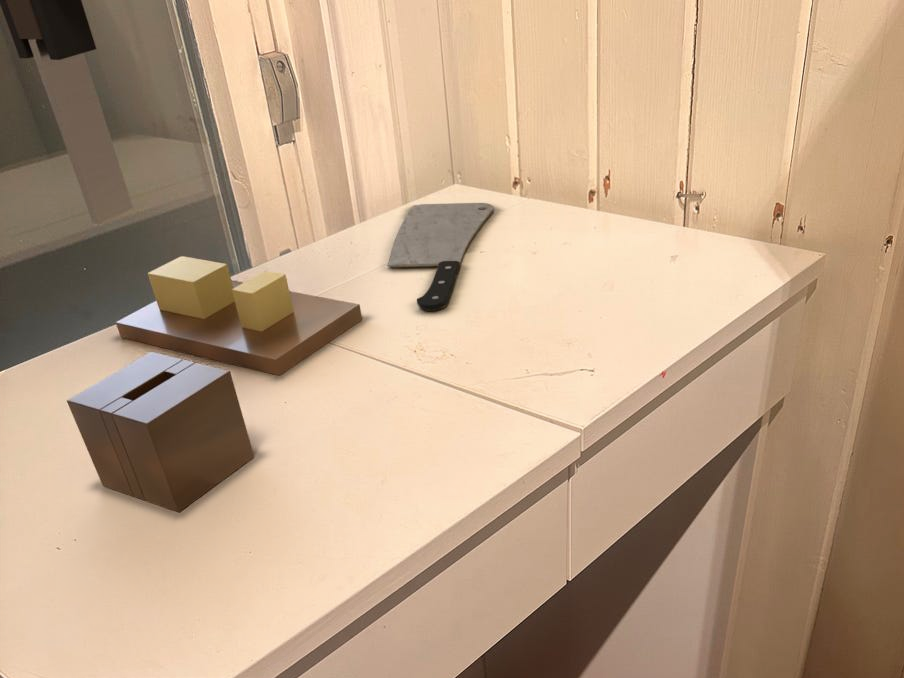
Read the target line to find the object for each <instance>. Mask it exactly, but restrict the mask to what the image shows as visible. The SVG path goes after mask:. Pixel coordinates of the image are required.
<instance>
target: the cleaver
mask: <svg viewBox="0 0 904 678" xmlns="http://www.w3.org/2000/svg"><path fill="white" fill-rule="evenodd" d="M494 210H495V207H494V205H492V204H491V203H488V202H455V203H454V202H453V203H420V204H413V205H412V206H411V208H410V210H408V213H407V214H406V216H405V217H404V218H403V221H402V223H401V225H400V226H399V229H398V231H397V233H396V235H395V239H394V241H393V244H392V248H391V251H390V254H389V258H388V261H387V265H386V266H387V267H393V268H401V267H403V268H404V267H407V268H408V267H437V268H436V271H435V274H434V277H433V280H432V282H431V284H430V286H429V288H428V290H427V291H426V292H425V293H424V295H422V296H420V297H418V298H417V299H416V304H417V305H418V306H419V308H421V309H422V310H424V311H437V310H439V309H442V308H444V307H446V305H447V304H448V302H449V300H450V297H451V294H452V292H453V288H454V285H455V282H456V279H457V276H458V273H459V270H460V268H461V262H462V260H463V258H464V255H465V252H466V250H467V249H468V247H469V245H470V243H471V241H472V240H473V238H474V237H475V236H476V234H477V232H478V230H480V228H481V227H482V225H483V224H484V223H485V222H486V220H487V219H488V218H489V216H490V215H491V214H492V213H493V212H494Z"/></svg>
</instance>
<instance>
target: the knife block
mask: <svg viewBox="0 0 904 678" xmlns="http://www.w3.org/2000/svg"><path fill="white" fill-rule="evenodd" d="M66 403H67V405H68V407H69V410H70V412H71V414H72V417H73V420H74V422H75V424H76V426H77V429H78V431H79V433H80V437H81V438H82V441H83V442H84V445H85V448H86V450H87V452H88V454H89V457H90V460H91V462H92V464H93V467H94V468H95V471H96V473H97V477H98V478H99V480H100V484H101V485H102V486H103V487H106V488H108V489H111V490H113V491H116V492H120V493H122V494H125V495H128V496H131V497H134V498H137V499H139V500H142V501H146V502H148V503H151V504H154V505H157V506H159V507H163V508H165V509H169V510H171V511H174V512H177V513H181V511H183V510H184V509H186V508H187V507H188V506H189V505H191V504H192V503H194V502H195V501H196V500H198V499H199V498H201V497H202V496H203V495H205V494H206V493H207V492H209V491H210V490H211V489H213V488H214V487H216V486H217V485H218V484H219V483H221V482H222V481H224V480H225V479H226V478H228V477H229V476H230V475H232V474H233V473H234V472H236V471H237V470H238V469H240V468H241V467H243V466H244V465H245V464H246V463H248V462H249V461H251V460H252V459H254V458H255V454H254V450H253V446H252V443H251V440H250V436H249V432H248V429H247V425H246V422H245V418H244V414H243V412H242V408H241V403H240V401H239V397H238V394H237V391H236V387H235V385H234V380H233V376H232V373H231V371H230V370H228V369H227V370H226V369H224V368H219V367H215V366H211V365H206V364H204V363H203V364H202V363H199V362H195V361H190V360H187V359H183V358H179V357H174V356H171V355H167V354H163V353H159V352H154V351H150V352H148V353H147V354H145V355H143V356H141V357H139V358H138V359H136V360H134V361H133V362H131V363H129V364H128V365H126V366H124V367H122V368H121V369H118V370H117V371H115V372H114V373H112V374H110V375H108V376H107V377H105V378H103V379H101V380H100V381H98V382H96V383H94V384H92V385H91V386H89V387H88V388H86V389H83V390H82V391H80V392H79V393H77V394H75V395H74V396H72V397H70V398H69V399H67V400H66Z"/></svg>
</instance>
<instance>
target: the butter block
mask: <svg viewBox="0 0 904 678" xmlns="http://www.w3.org/2000/svg"><path fill="white" fill-rule="evenodd" d="M147 276H148V280H149V282H150V285H151V289H152V292H153V295H154V297H155V301H157V304H158V307H159V310H164V311H168V312H173V313H178V314H182V315H187V316H191V317H196V318H201V319H206V318H207V317H209V316H211V315H213V314H214V313H216V312H218V311H220V310H221V309H223V308H225V307H226V306H228V305H230V304H232V303H233V302H235V301H234V297H233V293H232V289H233V284H232V281H231V280H232V277H231V274H230V270H229V266H228V264H227V263H223V262H217V261H212V260H207V259H206V260H205V259H200V258H196V257H195V258H194V257H190V256H189V257H188V256H185V255H184V256H183V255H180V256H179V257H177V258H175V259H173V260H170V261H169V262H167V263H165V264H163V265H161V266H159V267H157V268H155V269H153V270H151V271H149V272H147Z"/></svg>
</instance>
